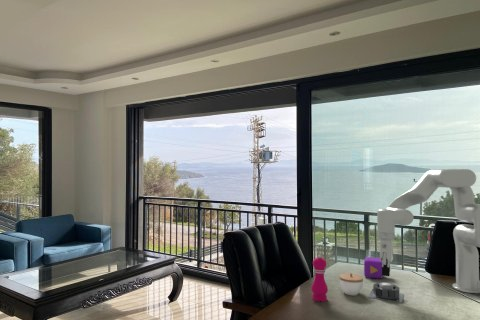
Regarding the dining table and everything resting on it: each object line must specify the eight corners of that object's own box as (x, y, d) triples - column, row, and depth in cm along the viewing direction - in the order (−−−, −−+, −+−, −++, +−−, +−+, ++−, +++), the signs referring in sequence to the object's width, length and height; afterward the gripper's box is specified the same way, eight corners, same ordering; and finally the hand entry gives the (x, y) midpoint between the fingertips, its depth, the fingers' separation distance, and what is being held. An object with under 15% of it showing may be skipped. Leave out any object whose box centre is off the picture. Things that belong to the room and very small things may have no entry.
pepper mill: (328, 297, 161) (328, 253, 162) (327, 302, 155) (326, 256, 155) (312, 295, 164) (312, 252, 164) (310, 300, 157) (310, 255, 157)
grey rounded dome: (393, 292, 165) (393, 283, 165) (392, 296, 159) (392, 287, 160) (380, 290, 168) (380, 281, 168) (378, 294, 162) (378, 284, 162)
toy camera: (392, 280, 187) (392, 261, 187) (365, 278, 190) (364, 260, 190) (387, 274, 198) (387, 256, 198) (362, 273, 200) (362, 255, 201)
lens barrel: (403, 294, 165) (403, 285, 166) (402, 303, 155) (401, 293, 155) (372, 289, 172) (372, 280, 172) (368, 297, 162) (368, 287, 162)
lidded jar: (364, 291, 170) (364, 271, 170) (361, 298, 160) (361, 277, 160) (341, 288, 174) (341, 269, 174) (337, 295, 164) (337, 274, 165)
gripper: (393, 239, 156) (393, 281, 155) (396, 234, 169) (396, 272, 168) (375, 237, 159) (374, 278, 159) (379, 232, 173) (379, 270, 172)
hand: (385, 275), depth 164 cm, fingers closed
